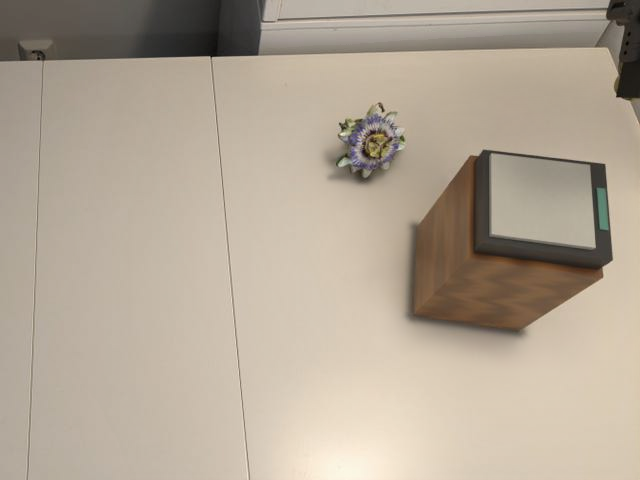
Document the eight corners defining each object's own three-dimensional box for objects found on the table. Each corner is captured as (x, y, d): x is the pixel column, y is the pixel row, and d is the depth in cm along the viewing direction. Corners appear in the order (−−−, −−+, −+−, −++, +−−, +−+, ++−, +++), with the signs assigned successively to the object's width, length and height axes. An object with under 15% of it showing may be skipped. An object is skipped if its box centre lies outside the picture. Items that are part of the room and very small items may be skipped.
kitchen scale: (592, 175, 73) (608, 160, 70) (598, 269, 68) (617, 258, 66) (474, 161, 74) (485, 146, 71) (473, 252, 70) (485, 240, 67)
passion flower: (355, 192, 100) (338, 178, 90) (334, 139, 102) (315, 119, 92) (419, 160, 94) (409, 141, 84) (395, 104, 96) (383, 78, 86)
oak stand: (517, 240, 90) (595, 169, 73) (519, 331, 85) (603, 277, 68) (416, 227, 92) (470, 154, 74) (412, 315, 87) (469, 259, 70)
